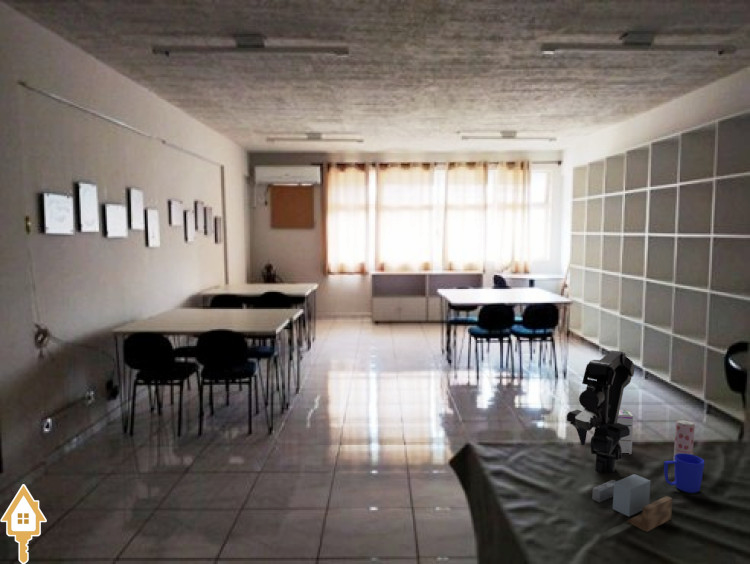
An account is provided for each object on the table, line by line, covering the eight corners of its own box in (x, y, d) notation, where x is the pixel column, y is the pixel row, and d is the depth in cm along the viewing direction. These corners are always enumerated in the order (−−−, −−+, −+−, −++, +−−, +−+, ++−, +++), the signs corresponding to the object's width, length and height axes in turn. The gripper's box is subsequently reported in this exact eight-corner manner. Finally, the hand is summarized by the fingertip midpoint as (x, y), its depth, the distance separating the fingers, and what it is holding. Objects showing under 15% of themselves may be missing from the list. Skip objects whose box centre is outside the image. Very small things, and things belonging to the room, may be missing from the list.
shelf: (584, 480, 178) (585, 462, 178) (670, 519, 155) (672, 498, 155) (560, 490, 172) (561, 470, 171) (646, 531, 149) (648, 509, 148)
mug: (655, 483, 177) (657, 453, 176) (691, 482, 178) (693, 452, 177) (671, 496, 169) (673, 464, 168) (708, 495, 170) (710, 463, 169)
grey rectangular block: (612, 490, 169) (612, 479, 169) (619, 493, 167) (620, 482, 167) (592, 499, 164) (592, 487, 163) (599, 502, 162) (600, 491, 161)
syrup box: (632, 454, 200) (634, 415, 199) (614, 453, 201) (617, 414, 200) (628, 448, 206) (630, 410, 204) (611, 446, 207) (613, 409, 205)
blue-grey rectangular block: (632, 500, 164) (634, 474, 163) (648, 507, 160) (650, 480, 159) (612, 509, 158) (614, 482, 157) (628, 516, 154) (630, 489, 153)
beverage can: (685, 468, 189) (688, 425, 187) (669, 462, 194) (672, 420, 192) (695, 464, 192) (698, 423, 190) (679, 458, 197) (682, 418, 195)
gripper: (556, 397, 175) (554, 445, 177) (610, 414, 160) (607, 466, 161) (578, 392, 181) (576, 438, 183) (632, 408, 166) (629, 458, 167)
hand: (595, 449), depth 173 cm, fingers open, 9 cm apart
